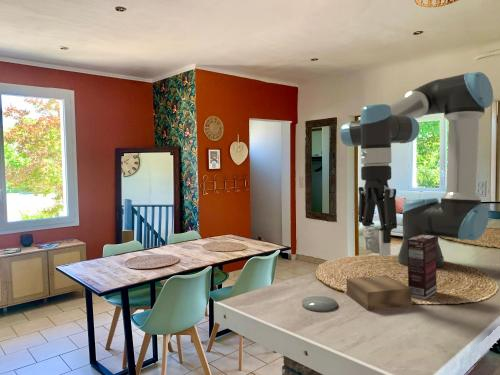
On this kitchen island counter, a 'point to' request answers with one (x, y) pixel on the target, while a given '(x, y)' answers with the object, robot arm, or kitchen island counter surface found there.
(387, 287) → the walnut block
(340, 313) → the kitchen island counter surface
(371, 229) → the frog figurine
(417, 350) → the kitchen island counter surface
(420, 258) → the supplement box
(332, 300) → the grey oval dome
